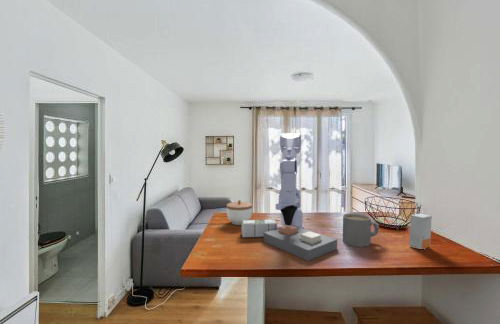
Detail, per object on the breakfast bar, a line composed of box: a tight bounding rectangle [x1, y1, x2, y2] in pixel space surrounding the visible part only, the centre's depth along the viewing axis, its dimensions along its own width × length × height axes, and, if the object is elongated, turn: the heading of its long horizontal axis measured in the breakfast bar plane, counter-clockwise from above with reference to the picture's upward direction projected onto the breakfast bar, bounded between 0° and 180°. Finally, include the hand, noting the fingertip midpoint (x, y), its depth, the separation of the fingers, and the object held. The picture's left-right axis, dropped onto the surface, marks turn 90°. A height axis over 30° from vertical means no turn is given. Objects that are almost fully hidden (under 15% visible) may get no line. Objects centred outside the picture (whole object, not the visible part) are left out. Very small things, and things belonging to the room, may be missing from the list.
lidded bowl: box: [225, 199, 253, 226], centre depth 123 cm, size 13×13×11 cm
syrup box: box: [241, 219, 278, 238], centre depth 106 cm, size 6×6×14 cm
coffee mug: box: [342, 212, 380, 248], centre depth 97 cm, size 13×10×10 cm
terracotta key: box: [279, 225, 297, 236], centre depth 99 cm, size 5×5×4 cm
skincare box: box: [409, 213, 432, 250], centre depth 92 cm, size 6×4×12 cm
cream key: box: [301, 230, 321, 244], centre depth 90 cm, size 5×5×4 cm
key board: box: [263, 225, 338, 262], centre depth 95 cm, size 16×22×4 cm
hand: (288, 224), depth 99 cm, fingers closed
